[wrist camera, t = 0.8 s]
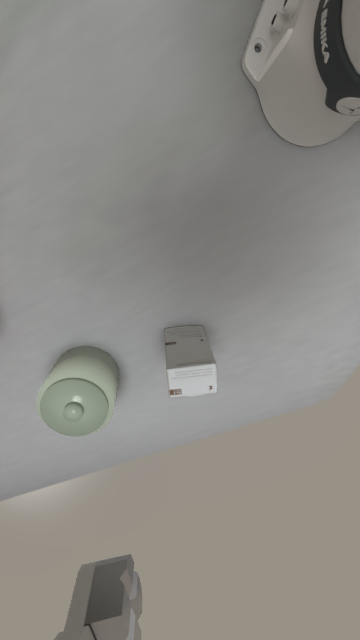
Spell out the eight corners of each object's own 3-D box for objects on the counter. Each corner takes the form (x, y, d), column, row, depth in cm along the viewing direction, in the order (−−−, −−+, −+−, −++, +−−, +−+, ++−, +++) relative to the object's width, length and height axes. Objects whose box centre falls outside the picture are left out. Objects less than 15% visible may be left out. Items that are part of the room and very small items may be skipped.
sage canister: (55, 342, 45) (31, 376, 36) (122, 350, 46) (116, 384, 37) (53, 398, 48) (30, 443, 39) (116, 404, 50) (108, 448, 40)
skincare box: (201, 323, 46) (218, 360, 35) (203, 350, 48) (220, 393, 36) (162, 328, 46) (166, 366, 34) (164, 354, 47) (169, 399, 36)
